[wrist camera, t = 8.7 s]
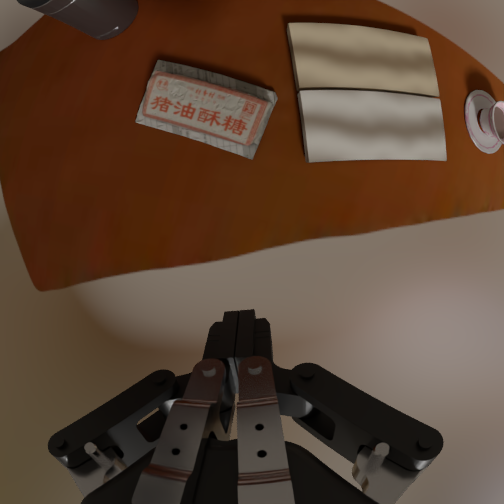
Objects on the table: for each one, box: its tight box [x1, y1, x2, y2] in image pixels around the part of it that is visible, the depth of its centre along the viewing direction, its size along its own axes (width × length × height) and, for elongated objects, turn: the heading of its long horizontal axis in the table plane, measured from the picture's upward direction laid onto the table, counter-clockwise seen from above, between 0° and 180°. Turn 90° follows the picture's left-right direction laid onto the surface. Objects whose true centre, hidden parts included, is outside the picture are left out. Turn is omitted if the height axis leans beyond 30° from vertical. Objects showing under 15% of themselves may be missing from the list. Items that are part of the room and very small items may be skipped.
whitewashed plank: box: [298, 90, 447, 162], centre depth 33 cm, size 10×22×2 cm, turn 97°
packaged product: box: [135, 60, 278, 159], centre depth 32 cm, size 18×5×10 cm
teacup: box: [465, 90, 504, 154], centre depth 29 cm, size 12×12×6 cm
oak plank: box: [287, 23, 439, 98], centre depth 29 cm, size 10×22×3 cm, turn 97°
